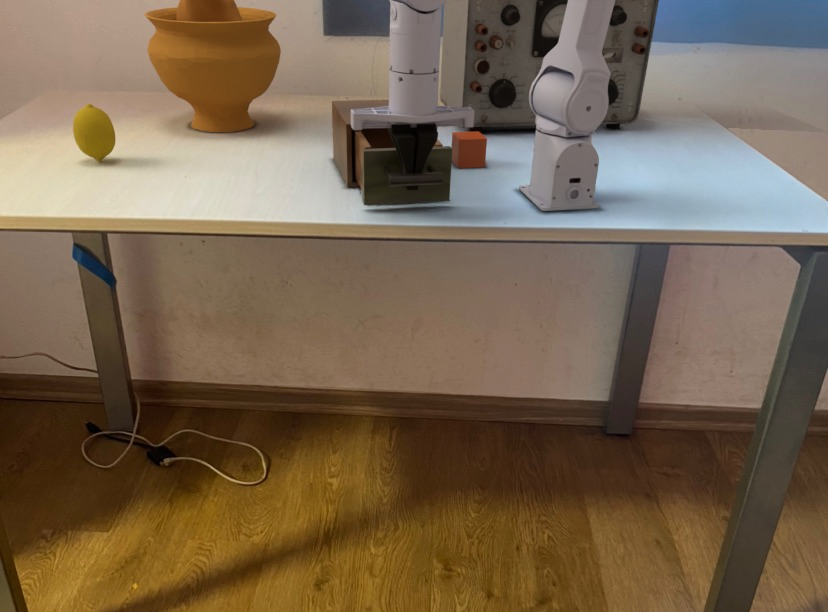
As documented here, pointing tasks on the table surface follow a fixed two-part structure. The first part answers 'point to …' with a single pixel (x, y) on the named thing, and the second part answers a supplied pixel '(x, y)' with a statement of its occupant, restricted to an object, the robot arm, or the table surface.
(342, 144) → the cabinet
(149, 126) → the table surface
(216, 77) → the mortar and pestle
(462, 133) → the block
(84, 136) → the lemon
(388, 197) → the drawer
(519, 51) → the vintage electronic device
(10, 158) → the table surface
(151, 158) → the table surface
